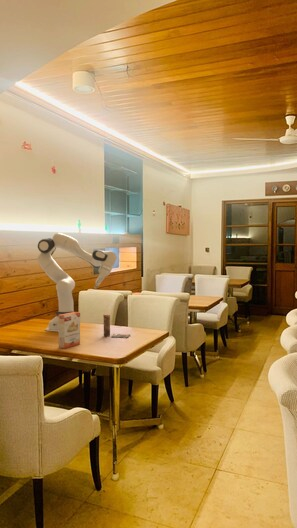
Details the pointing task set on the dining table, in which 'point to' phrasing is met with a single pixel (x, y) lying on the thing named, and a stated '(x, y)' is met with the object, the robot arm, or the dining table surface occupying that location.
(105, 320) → the walnut tube
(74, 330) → the cracker box
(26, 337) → the dining table surface
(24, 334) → the dining table surface
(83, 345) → the dining table surface
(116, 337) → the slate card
